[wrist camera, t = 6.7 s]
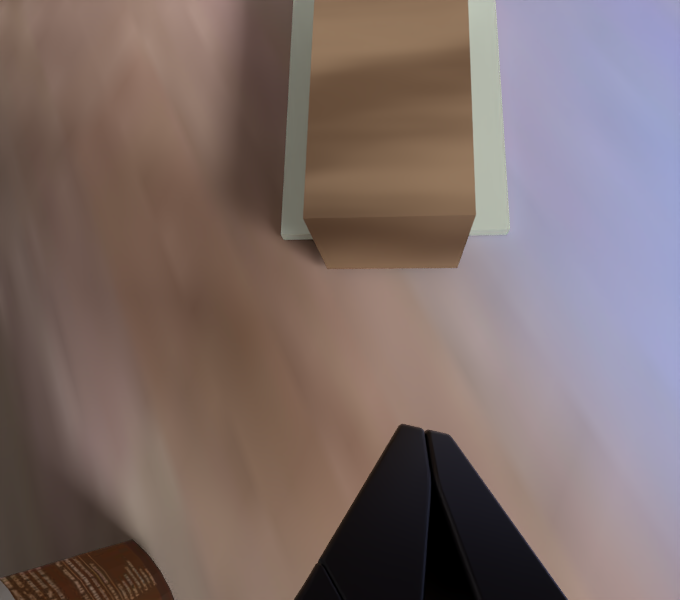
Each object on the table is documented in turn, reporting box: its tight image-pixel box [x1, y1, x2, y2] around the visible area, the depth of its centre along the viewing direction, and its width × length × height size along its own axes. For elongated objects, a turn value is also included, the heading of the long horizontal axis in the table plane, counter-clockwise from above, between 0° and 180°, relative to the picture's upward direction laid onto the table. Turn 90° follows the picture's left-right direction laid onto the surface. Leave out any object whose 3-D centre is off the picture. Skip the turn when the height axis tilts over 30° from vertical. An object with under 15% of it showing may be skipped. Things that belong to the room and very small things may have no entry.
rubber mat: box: [281, 0, 510, 240], centre depth 21 cm, size 14×9×1 cm, turn 179°
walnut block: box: [303, 0, 476, 269], centre depth 18 cm, size 5×5×12 cm
